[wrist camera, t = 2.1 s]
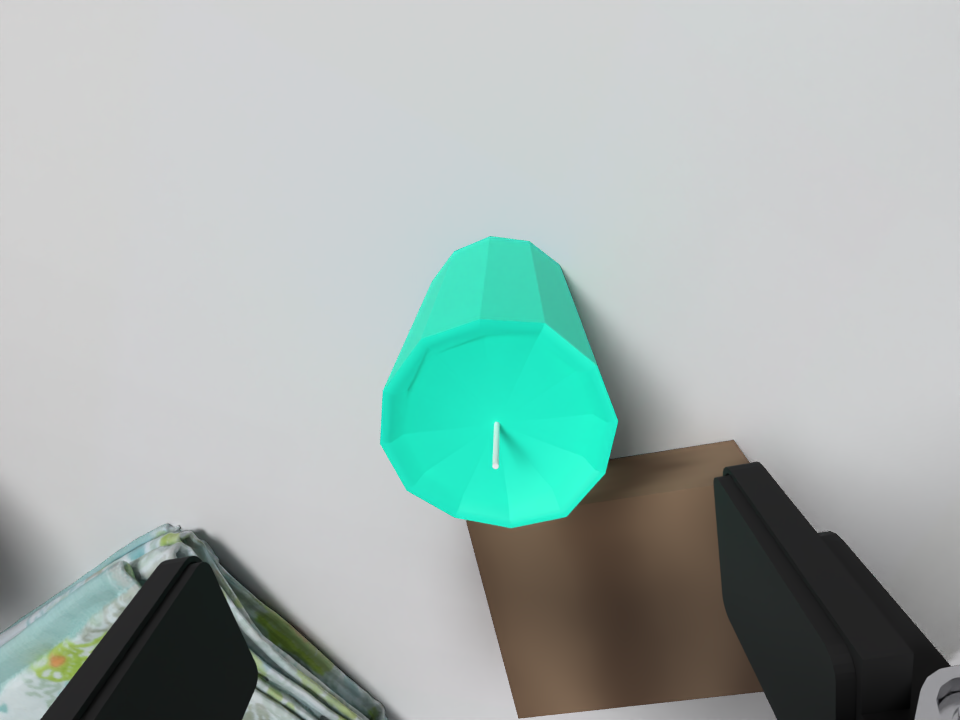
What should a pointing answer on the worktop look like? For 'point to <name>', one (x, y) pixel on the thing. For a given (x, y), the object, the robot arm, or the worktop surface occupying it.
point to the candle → (498, 392)
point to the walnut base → (618, 591)
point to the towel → (106, 593)
